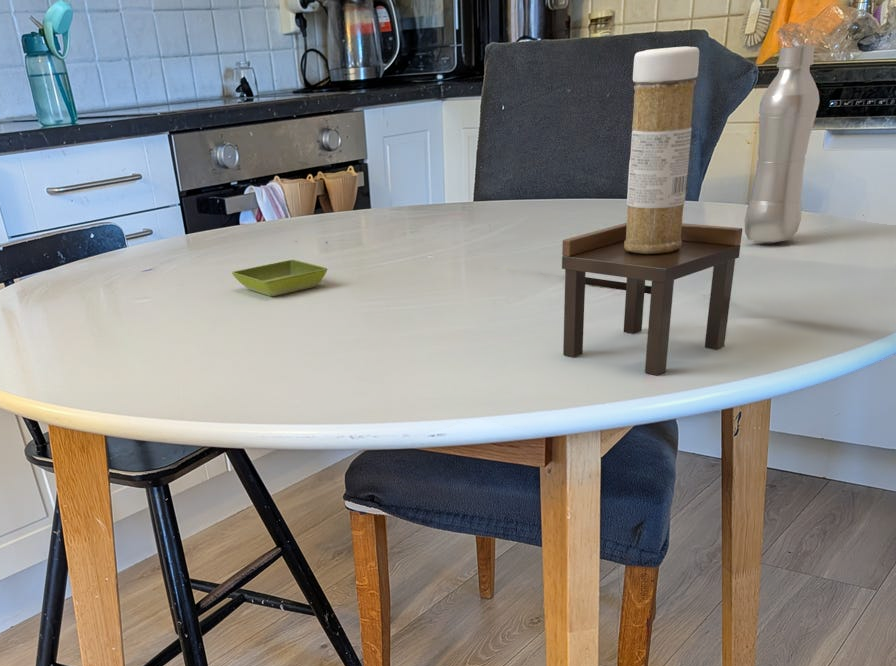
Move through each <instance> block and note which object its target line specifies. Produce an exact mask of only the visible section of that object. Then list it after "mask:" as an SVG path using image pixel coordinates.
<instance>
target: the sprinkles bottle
mask: <svg viewBox="0 0 896 666" xmlns="http://www.w3.org/2000/svg"><path fill="white" fill-rule="evenodd" d="M699 64H700V49H699V48H698V47H697V46H676V47H663V48H661V47H660V48H651V49H646V50H642V51H637V52H636V53H635V54H634V58H633V68H632V81H633V83H634V84H635V85H634V86H633V89H634V95H633V112H632V124H631V125H632V126H631V141H630V154H629V155H630V156H629V162H628V163H629V164H628V178H627V179H628V180H627V195H626V205H627V211H626V214H627V217H626V223H627V228H626V240H625V242H624V247H625V249H626V250H627V251H630V252H634V253H640V254H660V253H668V252H673V251H675V250H677V249H678V248H679V247H681V244H682V240H681V228H682V223H683V214H684V206H685V203H686V197H687V196H686V193H687V183H688V175H689V174H688V173H689V163H690V150H691V141H692V140H691V139H692V116H693V104H694V93H695V92H694V90H695V86H696V84H697V81H696V78H697V77H698V75H699V66H700V65H699Z"/></svg>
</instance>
